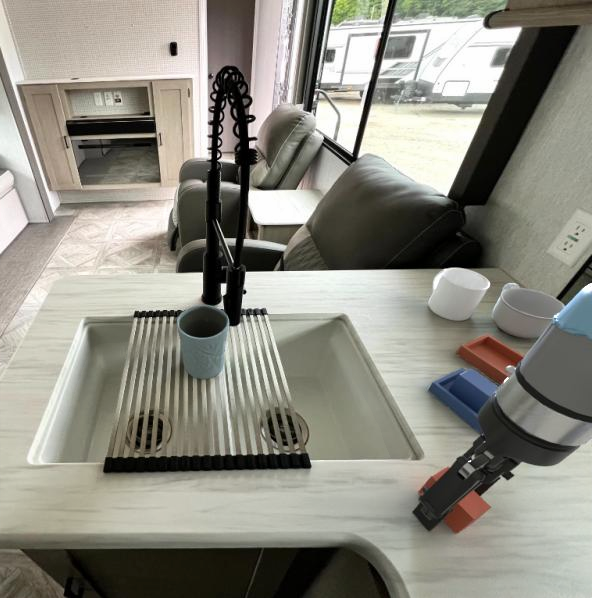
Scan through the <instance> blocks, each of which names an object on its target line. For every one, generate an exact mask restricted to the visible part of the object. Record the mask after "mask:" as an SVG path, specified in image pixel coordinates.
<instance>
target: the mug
mask: <svg viewBox="0 0 592 598" xmlns="http://www.w3.org/2000/svg"><path fill="white" fill-rule="evenodd" d="M490 286H491V282H490V280H489V279H488V278H487V277H486V276H484V275H483V274H481V273H479V272H476V271H474V270H472V269H471V270H470V269H468V268H462V267H448V268H443V269H441V270H439V272H438V273H436V275H435V276H434V278H433V281H432V294H431V296H430V297H429V300H428V302H427V305H428V308H429V309H430V310H431V311H432V312H433V313H434V314H435V315H437V316H439V317H441V318H443V319H446V320H450V321H456V322H462V321H463V322H464V321H467V320H469V319H470V318H472V315H473V313H474V312H475V310H476V309H477V307H478V306H479V304H480V302H481V301H482V300H483V297H484V296H485V294H486V293H487V291H488V290H489V288H490Z"/></svg>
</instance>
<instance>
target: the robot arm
mask: <svg viewBox="0 0 592 598" xmlns="http://www.w3.org/2000/svg"><path fill="white" fill-rule="evenodd" d="M564 306H565V307H564V308H563V310H562V311H561V312H560V313H558V314H557V315H555V316H554V317H553V318H552V322H551V324H550V325H549V326H548V328H547V329H546V330H545V331H544V333H543V334H542V335H541V336H540V337H538V339H537V340H536V341H535V343H534V344H533V345H532V347H531V348H530V349H529V350H528V352H527V353H526V354H525V355H524V356H525V357H524V358H523V359H522V360H521V361H520V362H519V363H518V365H517V366H516V367H514V366H512V365H511V366H508V367H506V368H505V372H506V373H507V374H509V375H510V376H509V377H508V378H507V379H506V380H505V381H504V382H503V383H502V384H499V386H498V387H499V388H498V389H497V391H496V392H494V393H493V394H492V395H491V397H490V398H489V399H488V400H487V401H486V403H485V404H484V405H483V406H482V408H481V409H480V410H479V413H478V423H479V426H480V428H481V430H482V432H483V434H482V435H481V434H480V435H479V436H478V437H477V438H476V439H475V440H473V442H472V446H471V447H470V448H469V449H467V450H466V452H465V453H463V454H462V455H460V456H458V457H456V458H455V459H456V460H455V461H454V462H453V463H452V465H450V466H449V467H450V468H449V469H448V470H447V471H446V472H445V473H444V474H443V475H442V476H441V477H440V478H439V479H438V480H437V481H436V482H435V483H434V484H433V485H432V486H431V487H430V488H428V487H427V486H426V487H424V488H422V487H421V488H422V489H421V488H420V489H421V490H422V491H423V492H424V494H422V495H421V494H420V496H419V498H418V501H419V503H418V504H417V506H415V507H414V509H413V510H412V511H411V513H412V514H413V515H414V516H415V517H416V519H417V520H418V521H419V522H420V524H422V526H423V527H424V528H425V529H426V530H427V531H428V532H431V531H432V530H434V529H435V528H436V527H437V526H438V525H439V524H440V523H442V521H443V520H444V518H445V517H446V516H447V515H448V514H450V513H451V512H452V511H453V509H452V508H453V507H454V506H455V505H456V504H458V503H459V502H460V501H461V500H462V499H464V498H465V497H466V496H467V495H469V494H470V493H471V492H472V491H473V490H474V491H475V492H476V493H477V494H478V495H479V496H480V497H482V496H483V495H484V494H485V493H486V492H487V491H488V490H489V489H491V488H492V487H493V486H494V485H495V484H497V482H499V481H500V480H501V477H502V478H503V479H504V480H506V481H507V482H508V481H510V480H512V479H513V478H514V477H515V474H514V473H512V471H513V470H515V469H516V468H517V467H518V466H519V465H521V463H524V464H527V465H531V466H536V467H553V466H557V465H558V464H560V463H561V462H564V460H565V459H567V458H568V457H569V456H571V455H572V454H573V453H574V452H575V451H577V450H578V449H579V448H580V447H581V446H582V445H586V444H587V443H588V442H590V441H591V440H592V282H591V283H589V284H587V285H586V286H584V287H583V288H581V290H579V292H578V293H577V294H576V295H575V296H574V297H573V298H572V299H571V300H570V301H569V302H568V303H567V304H566V305H564ZM473 456H474V457H473ZM472 457H473V458H472Z"/></svg>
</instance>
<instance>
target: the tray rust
mask: <svg viewBox="0 0 592 598" xmlns="http://www.w3.org/2000/svg"><path fill="white" fill-rule="evenodd" d="M455 354H456V355H457V356H458V357H460V358H461V359H462V360H464V361H466V362H467V363H468V364H470V365H471V366H473V367H474V368H476V369H477V370H479V371H480V372H482V373H483V374H485V375H486V376H487V377H489V378H490V379H492V380H493V381H495V382H496V383H498V384H499V385H501V384H502V383H503V382H504V381H505V380H506V379H507V378H508V377H509V376H510V375H509V374H507V373H506V372H505V368H506V367H508V366H511V365H512V366H514V367H516V366H517V365H518V363H519V362H520V361H521V360H522V359H523V358H524V357H525V356H526V355H524V354H522V353H521V352H519V351H517V350H515V349H513V348H512V347H510V346H509V345H507V344H505V343H503V342H502V341H500V340H498V339H497V338H495V337H493V336H491V335H490V334H489V333H486V334H483V335H481V336H478V337H477V338H474V339H472V340H470V341H468V342H466V343H463V344H462V345H460V346H459V348H458V350H457V351H456V352H455Z"/></svg>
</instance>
